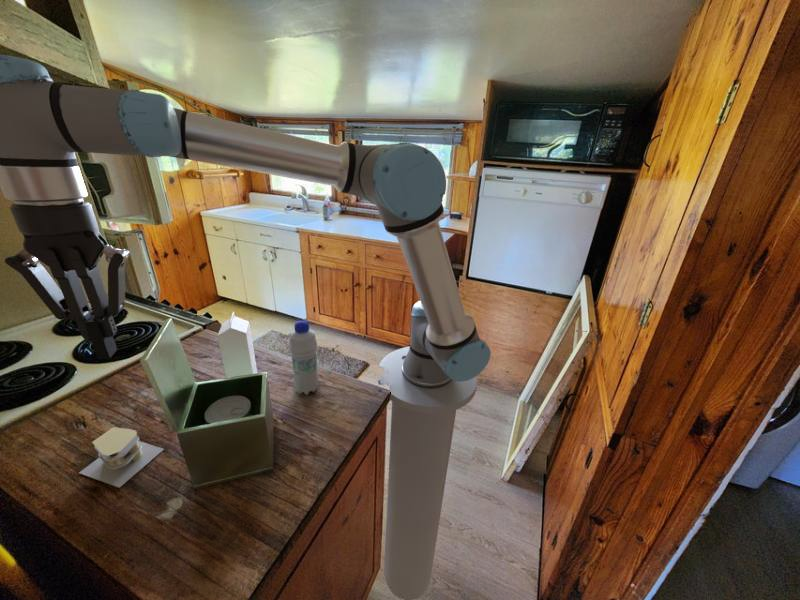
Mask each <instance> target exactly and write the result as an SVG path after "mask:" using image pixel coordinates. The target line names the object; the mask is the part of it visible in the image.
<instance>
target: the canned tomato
mask: <svg viewBox="0 0 800 600" xmlns="http://www.w3.org/2000/svg"><path fill="white" fill-rule="evenodd" d="M249 416H252V410H251V403H250V401H249V400H248V399H247V398H246V397H243V396H229V397H225V398H222V399H220V400H218V401H216V402H214V403H213V404H212V405H211V406H210V407H209V408H208V409H207V410H206V412H205V420H206V424H212V423H218V422H223V421H228V420H233V419H238V418H244V417H249Z"/></svg>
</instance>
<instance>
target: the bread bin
mask: <svg viewBox="0 0 800 600" xmlns="http://www.w3.org/2000/svg"><path fill="white" fill-rule="evenodd" d="M229 396H243V397H246V398H247V399H248V400H249V401H250V403H251V410H252V416H249V417H244V418H238V419H233V420H228V421H223V422H218V423H212V424H206V420H205V412H206V410H207V409H208V408H209V407H210V406H211V405H212V404H213V403H214V402H216V401H218V400H220V399H222V398H225V397H229ZM274 420H275V419H274V413H273V406H272V400H271V393H270V386H269V380H268V372H267V371H263V372H257V373H256V374H249V375H243V376H236V377H230V378H226V377H224V378H218V379H217V378H216V379H210V380H205V381H198V382H195V384H194V387H193V390H192V393H191V396H190V399H189V401H188V404H187V407H186V410H185V413H184V416H183V419H182V422H181V425H180V428H179V430H178V431H176V435H177V439H178V442H179V445H180V448H181V452H182V455H183V458H184V461H185V464H186V468H187V471H188V474H189V477H190V481H191V483H192V487H193V489H194V490H197V489H201V488H207V487H210V486H213V485H217V484H222V483H226V482H230V481H234V480H239V479H241V478H247V477H250V476H254V475H257V474H263V473H267V472H272V471H274V443H275V442H274V438H275V437H274V436H275V435H274V433H275V429H274Z"/></svg>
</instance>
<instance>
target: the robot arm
mask: <svg viewBox="0 0 800 600" xmlns="http://www.w3.org/2000/svg"><path fill="white" fill-rule="evenodd" d="M76 153H80V154H90V153H91V154H105V155H106V154H107V155H118V156H119V155H121V156H140V157H141V156H143V157H144V156H145V157H148V158H161V157H169V158H170V157H171V158H177V159H181V160H189V161H195V162H199V163H205V164H212V165H216V166H222V167H228V168H232V169H238V170H244V171H249V172H255V173H260V174H265V175H271V176H275V177H276V176H278V177H282V178H288V179H293V180H299V181H304V182H309V183H314V184H320V185H326V186H331V187H334V189H335V190H336V191H337V192H338V193H342V194H348V195H352V196H354V197H358V198H360V199H362V200H365V201H367V202H369V203H371V204H372V205H374V206H376V209H377V212H378V215H379V217H380V219H381V222H382V224H383V227H384V230H385V231H386V233H387V234H389V235H392V236H393V237H396V239H397V242H398V244H399V247H400V250H401V253H402V256H403V258H404V261H405V263H406V267H407V268H408V271H409V273H410V274H409V275H410V277H411V280H412V282H413V285H414V288H415V291H416V293H417V296H418V298H419V300H418V301H416V303H414V304H413V306H412V310H411V315H410V316H411V319H410V334H409V335H410V336H409V337H410V339H409V346H410V349H409V351H408V353H407V355H406V356H403V357H402V359H405V360H404V362H403V364H402V374H403V376H404V378H405V379H406V380H407V381H408V382H410V383H411V384H413V385H415V386H418V387H422V388H428V389H433V388H440V387H443V386H445V385H447V384H448V383H449V382H450V381H451V380H454V381H457V382H459V381H460V382H464V381H468V380H470V379H472V378H474V377H476V376H477V377H478V376H479V375H480V374H481V373H482V372H483V371H485V369H486V367H487V365H488V364H489V363H490V359H491V354H492V353H491V348H490V347H489V345H488V344H487V342H486V341H485V340H482V339H481V338H480V336H479V334H478V330H477V326H476V323H475V319H474V318H473V316H472V315H471V314H469V313H467V312H466V311H465V309H464V304H463V301H462V298H461V294H460V292H459V288H458V285H457V282H456V281H457V280H456V277H455V274H454V271H453V267H452V264H451V259H450V256H449V253H448V250H447V246H446V243H445V242H446V241H445V240H444V235H443V233H442V228H441V225H440V220H441V218H442V217H443V216H444V213H445V209H444V206H443V200H444V195H446V191H447V177H446V172H445V169H444V167H443V164H442V163H441V161H440V160H439V158H438V157H437V156H436V155H435V154H434V153H433V152H432V151H431V150H430V149H428V148H427V147H424V146H422V145H418V144H415V143H411V142H398V143H391V144H386V143H385V144H357V143H352V142H348V141H343V142H342V143H340V144H339V145H337V144H331V143H327V142H322V141H318V140H314V139H310V138H306V137H300V136H297V135H293V134H288V133H284V132H281V131H274V130H271V129H266V128H262V127H258V126H253V125H250V124H245V123H241V122H236V121H231V120H227V119H222V118H218V117H214V116H209V115H205V114H201V113H196V112H193V111H188V110H183V109H179V108H175V107H173V105H172V102H171V101H170V100H169V99H168V98H167V97H166V96H164V95H162V94H158V93H152V92H146V91H141V90H139V89H129V90H128V89H118V88H106V87H97V86H95V87H93V86H84V85H72V84H67V83H60V82H55V81H54V80H53V78H51V76H50V74H49V71H48V69H47V68H46V67H45V66H43V65H42V64H40V63H39V62H36V61H33V60H32V59H31V60H30V59H27V58H22V57H18V56H13V55H8V54H0V189H1V192H2V194H3V197H4V199H6V200H8V201H11V202H14V203H11V204H10V206H9V210H10V213H11V215H12V217H13V219H14V222H15V224H16V227H17V229H18V231H19V232H20V233H21V234H22V236H23V243H22V247H23V249H22V250H20V251H18V252H17V253H15V254H13V255H10V256H8V257H5V259H4V263H5V264H6V265H7V266H9V267H10V268H12V269H13V270H14V271H16V272H17V273H19V274H20V275H21V276H22V277H23V278H24V279H25V281H26V282H27V283H28V285H29V286H30V287H31V288H32V290H33V291H34V293H36V295H37V296H38V297H39V298H40V300H41V301H42V302H43V303H44V304H45V306H46V307H47V308H48V310H49V311H50V312H51V314H52V315H53V316H54V317H55V319H58V320H61V321H62V320H71V321H73V322H75V323H76V325H77V328H78V330H79V333H80V335H81V337H82V338H83V340H84V341H85V340H90V342H91V345H92V347H93V350H94V352H95V355H96V358H97V360H98V361H99V360H100V361H101V360H107V359H111V358H112V357H113V355H114V354H115V353H116V352H117V350H118V348H117V344H116V342H115V339H114V336H115V335H116V334H117V332H118V328H117V325H116V322H115V320H114V317H113V316H117V315H118V314H119V313H120V312H121V311H122V310H123V309H124V308H125V307H126V263H127V261H128V259H129V257H130V255H131V253H130V251H129V250H128V249H127V248H122V249H120V248H117V247H114V246H112V245H109V244H108V241H107V239H106V238H105V237H103V235H102V233H100V229H99V224H98V221H97V218H96V215H95V211H94V209H93V207H92V204H91V203H90V202H89V201H88V200H84V199H85V198H87V197H88V196H89V193H88V191H87V188H86V184H85V183H84V178H83V176H82V173H81V170H80V167H79V163H78V160H77V157H76ZM103 255H104V256H105V261H106V262H107V263H108V266H107V291H106V288H105V285H104V282H103V280H102V276H101V274H100V266H99V265H100V264H99V262H100V260H101V258H102V256H103ZM40 262H41V263H42V264H44V265H45V266H47V267H48V268H49V270H50V273H51V275H52V276H51V275H50V274H49V272H48V271H47V269H46V268H45V267H44V266H43V265H42V264H41V263H40ZM54 279H55V280H56V281H57V283H56V282H55V280H54ZM92 313H93V314H92ZM91 314H92V315H91Z"/></svg>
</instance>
